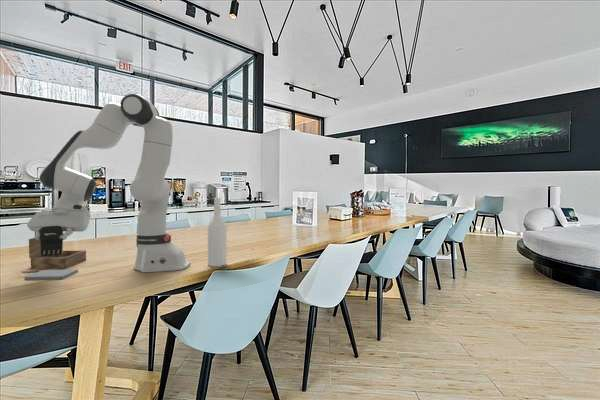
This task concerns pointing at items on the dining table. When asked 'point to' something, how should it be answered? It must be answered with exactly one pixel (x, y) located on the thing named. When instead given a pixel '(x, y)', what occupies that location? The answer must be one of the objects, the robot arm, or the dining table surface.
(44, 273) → the mat
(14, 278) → the dining table surface
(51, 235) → the battery charger
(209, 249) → the bottle
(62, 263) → the wooden box
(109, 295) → the dining table surface
